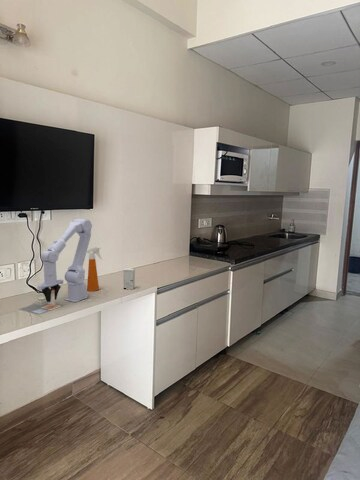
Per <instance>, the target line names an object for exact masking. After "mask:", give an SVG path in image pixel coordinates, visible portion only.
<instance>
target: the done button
mask: <svg viewBox="0 0 360 480" xmlns="http://www.w3.org/2000/svg"><path fill="white" fill-rule="evenodd" d="M37 300H38V301H41V302H42V301H45V300H46V298H45V296H41V297H38V298H37Z"/></svg>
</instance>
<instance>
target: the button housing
mask: <svg viewBox="0 0 360 480" xmlns="http://www.w3.org/2000/svg"><path fill="white" fill-rule="evenodd" d="M34 302H35V303H34V304H36V305H41V306H42V305H45V304H48V302H47V301H46V300H45V301H42V302H41V301H38V299H36V300H34Z"/></svg>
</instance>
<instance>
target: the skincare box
mask: <svg viewBox="0 0 360 480" xmlns="http://www.w3.org/2000/svg"><path fill="white" fill-rule="evenodd" d="M135 276H136V269H135V268H132V267H131V268H129V267H125V268H124V269H123V285H122V286H123V288H126V289H125V290H134V289H135V288H136V286H135V282H136V281H135V280H136V277H135ZM134 287H135V288H134ZM133 288H134V289H133Z"/></svg>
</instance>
